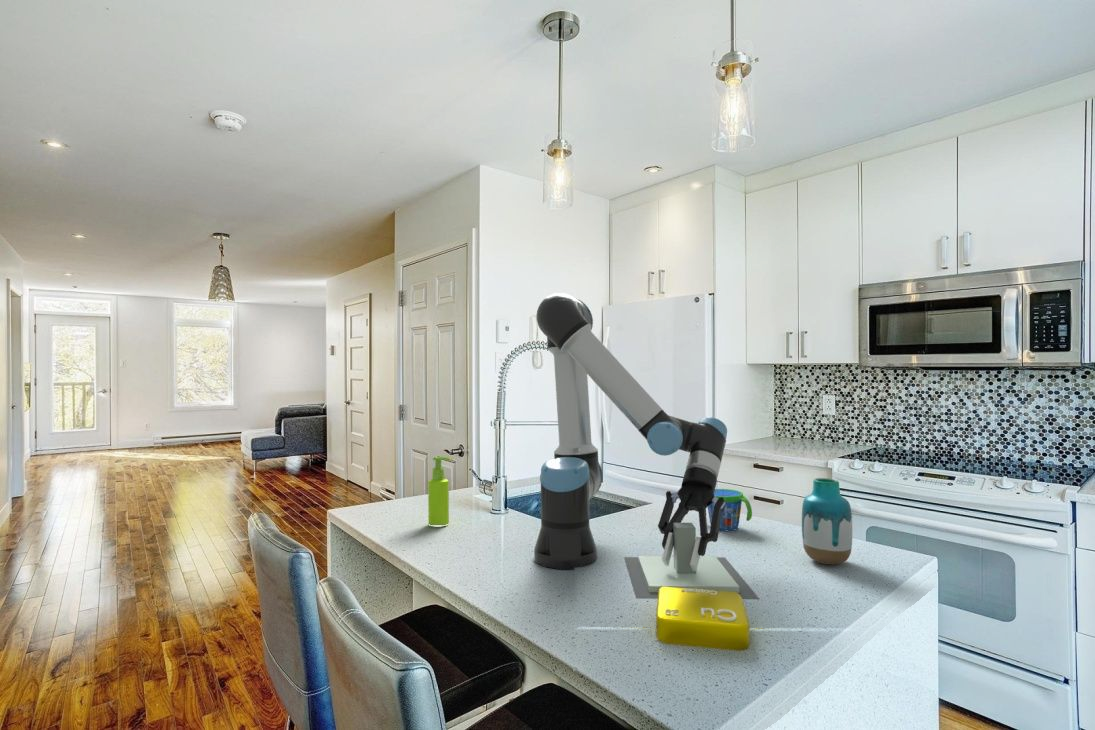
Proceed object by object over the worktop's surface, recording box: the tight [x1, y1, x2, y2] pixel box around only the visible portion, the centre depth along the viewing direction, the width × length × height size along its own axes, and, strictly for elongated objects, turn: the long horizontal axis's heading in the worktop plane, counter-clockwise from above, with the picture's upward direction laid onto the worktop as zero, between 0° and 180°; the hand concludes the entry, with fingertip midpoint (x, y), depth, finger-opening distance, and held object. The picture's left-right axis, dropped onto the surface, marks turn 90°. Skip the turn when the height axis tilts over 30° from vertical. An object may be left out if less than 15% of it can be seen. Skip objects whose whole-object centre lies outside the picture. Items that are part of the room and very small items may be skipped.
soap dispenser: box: [427, 456, 453, 525], centre depth 165 cm, size 6×7×20 cm
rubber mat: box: [623, 556, 760, 600], centre depth 122 cm, size 24×24×1 cm
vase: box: [801, 477, 853, 565], centre depth 131 cm, size 11×11×19 cm
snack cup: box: [707, 488, 753, 532], centre depth 159 cm, size 16×10×10 cm
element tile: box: [655, 587, 750, 652], centre depth 99 cm, size 15×15×5 cm
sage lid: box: [637, 522, 739, 593], centre depth 122 cm, size 18×18×11 cm
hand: (679, 565), depth 119 cm, fingers closed on sage lid, 5 cm apart
